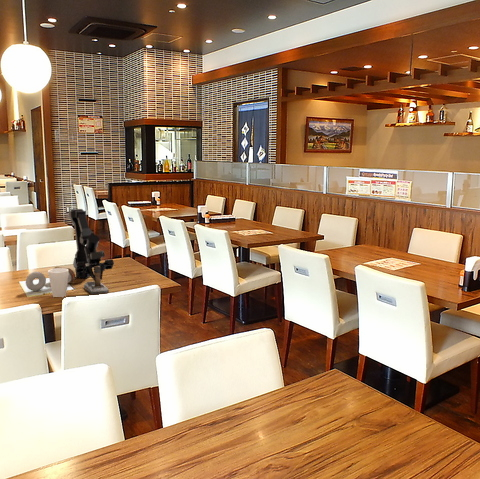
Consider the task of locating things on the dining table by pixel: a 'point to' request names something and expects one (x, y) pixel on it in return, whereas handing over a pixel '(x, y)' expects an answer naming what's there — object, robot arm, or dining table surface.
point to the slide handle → (97, 278)
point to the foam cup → (58, 281)
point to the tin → (71, 275)
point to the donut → (31, 277)
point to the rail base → (96, 290)
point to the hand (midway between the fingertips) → (98, 279)
